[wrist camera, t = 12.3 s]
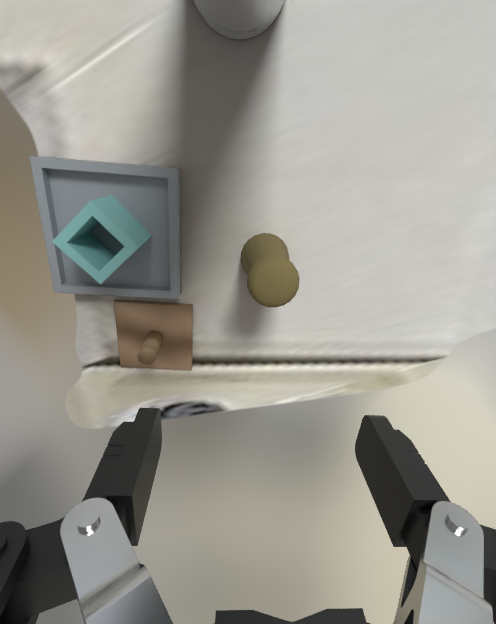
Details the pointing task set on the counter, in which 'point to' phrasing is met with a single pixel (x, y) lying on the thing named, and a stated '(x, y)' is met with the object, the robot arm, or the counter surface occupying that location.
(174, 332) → the square board with knob
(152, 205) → the tray
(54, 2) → the counter surface
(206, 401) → the counter surface
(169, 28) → the counter surface
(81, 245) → the open box
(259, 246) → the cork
